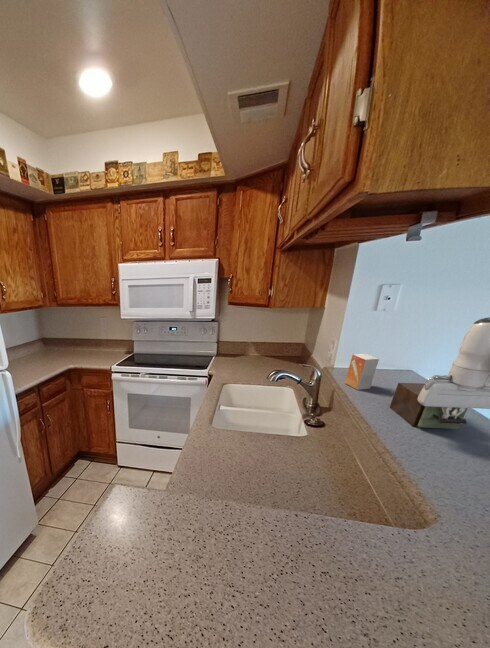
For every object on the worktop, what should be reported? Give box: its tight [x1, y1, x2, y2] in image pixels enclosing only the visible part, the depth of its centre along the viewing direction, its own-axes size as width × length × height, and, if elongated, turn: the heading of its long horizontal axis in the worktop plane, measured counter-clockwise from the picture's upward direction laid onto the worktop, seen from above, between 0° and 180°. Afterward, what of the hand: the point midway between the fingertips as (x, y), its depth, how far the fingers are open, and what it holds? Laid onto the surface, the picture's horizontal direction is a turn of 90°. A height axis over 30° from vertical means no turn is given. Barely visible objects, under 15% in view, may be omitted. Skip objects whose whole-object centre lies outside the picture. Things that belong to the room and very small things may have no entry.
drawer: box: [417, 406, 469, 430], centre depth 107 cm, size 19×11×8 cm, turn 174°
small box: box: [344, 353, 380, 391], centre depth 137 cm, size 8×6×13 cm
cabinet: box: [389, 382, 425, 428], centre depth 111 cm, size 16×13×10 cm
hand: (448, 419), depth 100 cm, fingers closed
